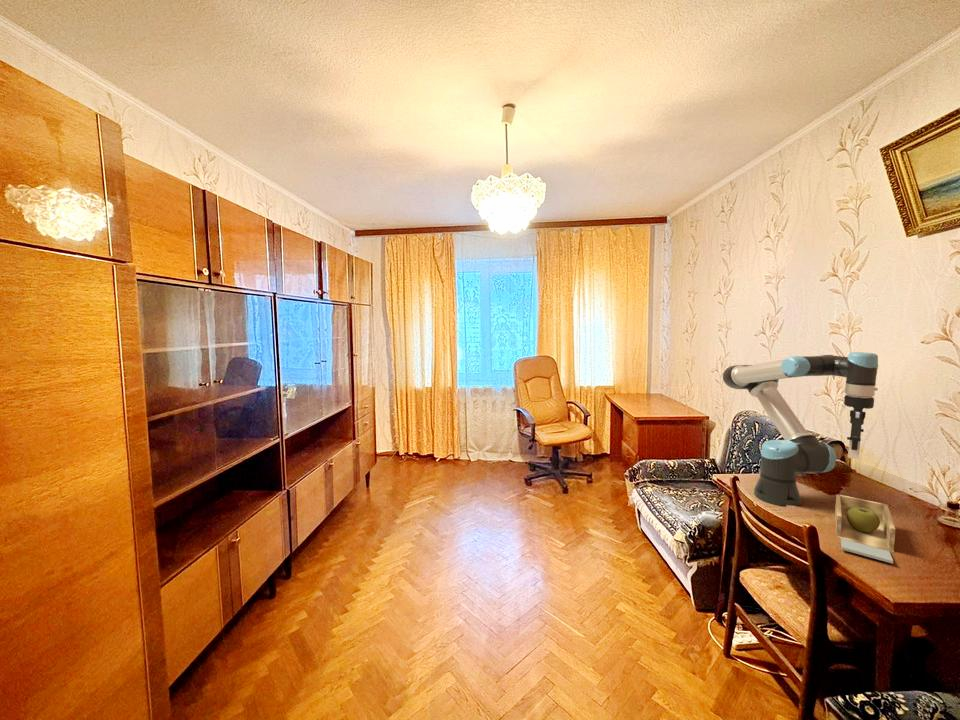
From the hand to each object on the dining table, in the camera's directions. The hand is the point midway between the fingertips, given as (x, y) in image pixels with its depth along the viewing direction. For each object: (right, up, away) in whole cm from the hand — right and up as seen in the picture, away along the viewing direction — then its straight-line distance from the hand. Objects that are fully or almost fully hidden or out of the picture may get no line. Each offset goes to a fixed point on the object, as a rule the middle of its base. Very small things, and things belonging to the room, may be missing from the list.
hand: (853, 453), depth 138 cm
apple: (-6, -24, -8) cm, 26 cm away
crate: (-6, -25, -8) cm, 27 cm away
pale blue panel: (-14, -25, -17) cm, 33 cm away
